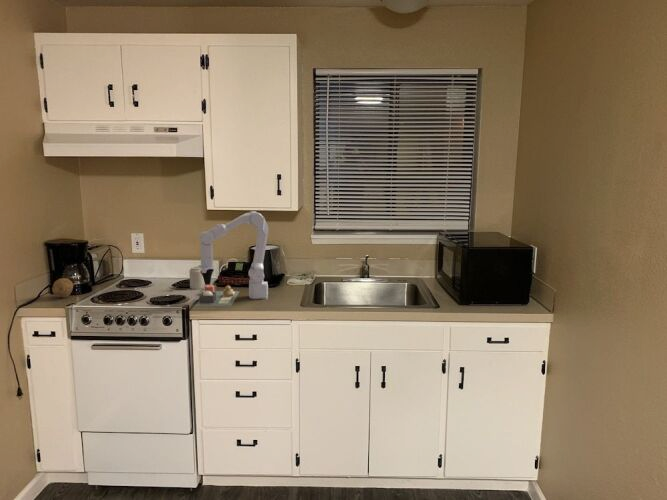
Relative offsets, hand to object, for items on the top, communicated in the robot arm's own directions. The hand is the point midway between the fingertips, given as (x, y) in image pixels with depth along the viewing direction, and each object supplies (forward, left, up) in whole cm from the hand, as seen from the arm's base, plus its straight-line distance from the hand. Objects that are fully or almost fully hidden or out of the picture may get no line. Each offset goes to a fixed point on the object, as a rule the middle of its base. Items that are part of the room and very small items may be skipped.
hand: (207, 284), depth 226 cm
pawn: (-8, -9, -8) cm, 15 cm away
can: (+12, -26, -10) cm, 30 cm away
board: (-4, -5, -9) cm, 11 cm away
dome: (0, 0, -8) cm, 8 cm away
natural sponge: (+73, -7, -10) cm, 73 cm away
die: (+2, -13, -8) cm, 16 cm away
